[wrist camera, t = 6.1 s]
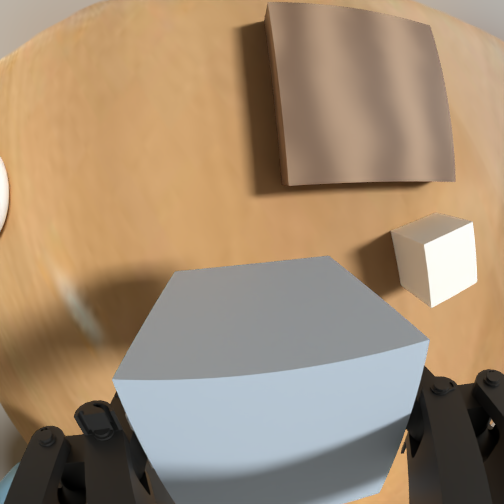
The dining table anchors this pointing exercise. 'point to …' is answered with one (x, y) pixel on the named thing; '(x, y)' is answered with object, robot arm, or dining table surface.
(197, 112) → the dining table surface
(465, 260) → the white cube
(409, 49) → the walnut block
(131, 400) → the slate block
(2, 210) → the flower in vase
